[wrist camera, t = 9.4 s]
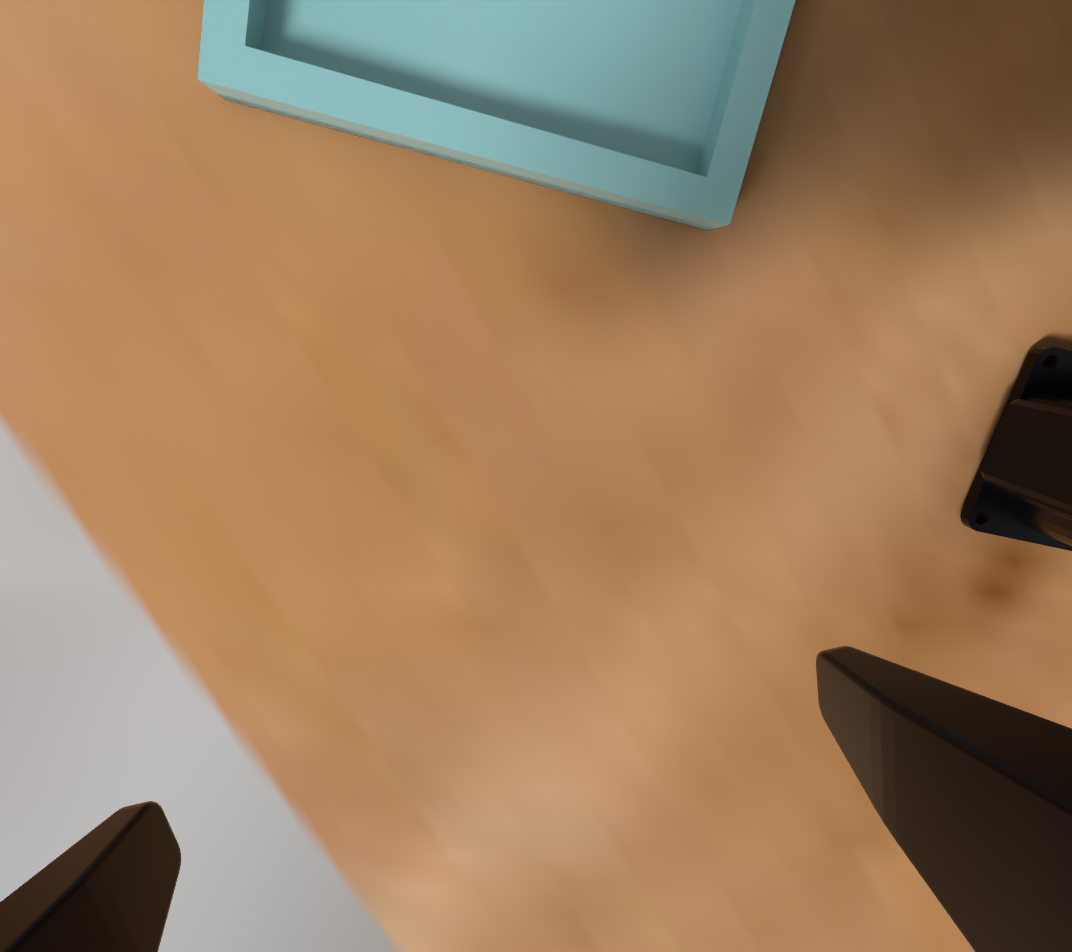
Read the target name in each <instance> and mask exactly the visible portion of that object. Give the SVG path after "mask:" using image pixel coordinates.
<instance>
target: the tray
mask: <svg viewBox="0 0 1072 952" xmlns="http://www.w3.org/2000/svg"><path fill="white" fill-rule="evenodd" d="M795 1H796V0H204V10H203V21H202V33H201V44H200V56H199V67H198V80H199V81H200V82H202V83H203V84H204V85H206V86H207V87H208V88H210V89H211V90H212V91H214V92H215V93H216V94H218V95H219V96H220V97H222V98H223V99H224V100H228V101H231V102H235V103H239V104H242V105H246V106H250V107H253V108H257V109H261V110H265V111H268V112H272V113H276V114H279V115H283V116H287V117H290V118H294V119H298V120H301V121H305V122H309V123H313V124H316V125H320V126H324V127H327V128H331V129H335V130H338V131H342V132H346V133H350V134H353V135H357V136H361V137H364V138H368V139H372V140H375V141H379V142H383V143H386V144H390V145H394V146H398V147H401V148H405V149H409V150H412V151H416V152H420V153H423V154H427V155H431V156H434V157H438V158H442V159H446V160H449V161H453V162H457V163H460V164H464V165H468V166H471V167H475V168H479V169H483V170H486V171H490V172H494V173H497V174H501V175H505V176H508V177H512V178H516V179H519V180H523V181H527V182H531V183H534V184H538V185H542V186H545V187H549V188H553V189H556V190H560V191H564V192H567V193H571V194H575V195H579V196H582V197H586V198H590V199H593V200H597V201H601V202H604V203H608V204H612V205H616V206H619V207H623V208H627V209H630V210H634V211H638V212H641V213H645V214H649V215H652V216H656V217H660V218H664V219H667V220H671V221H675V222H678V223H682V224H686V225H689V226H693V227H697V228H700V229H704V230H711V229H715V228H719V227H724V226H728V225H730V223H731V219H732V216H733V213H734V209H735V206H736V202H737V199H738V195H739V192H740V189H741V185H742V182H743V178H744V175H745V171H746V168H747V165H748V161H749V158H750V154H751V151H752V148H753V144H754V141H755V137H756V134H757V130H758V127H759V124H760V120H761V117H762V113H763V110H764V107H765V103H766V100H767V96H768V93H769V89H770V86H771V83H772V79H773V76H774V72H775V69H776V66H777V62H778V59H779V55H780V52H781V48H782V45H783V42H784V38H785V35H786V31H787V28H788V24H789V21H790V18H791V14H792V11H793V7H794V4H795Z"/></svg>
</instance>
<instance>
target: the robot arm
mask: <svg viewBox="0 0 1072 952" xmlns="http://www.w3.org/2000/svg"><path fill="white" fill-rule="evenodd" d="M1046 357H1047V362H1046V364H1045V366H1044V367H1043V360H1044V359H1045V358H1046ZM979 512H981V513H980V516H979V518H978V519H976V516H977V514H978V513H979ZM960 517H961V522H962V523H963V524H964V525H965V526H967V527H969V528H971V529H973V530H976V531H979V532H984V533H989V534H994V535H998V536H1003V537H1008V538H1013V539H1018V540H1022V541H1027V542H1032V543H1037V544H1042V545H1046V546H1051V547H1056V548H1061V549H1066V550H1070V551H1072V351H1068V350H1065V349H1061V348H1057V347H1048V346H1040V347H1037V348H1035V349H1034V350H1033V351H1031V352H1030V354H1029V355H1028V357H1027V359H1026V361H1025V364H1024V366H1023V368H1022V371H1021V373H1020V375H1019V378H1018V380H1017V382H1016V385H1015V387H1014V389H1013V392H1012V394H1011V397H1010V399H1009V401H1008V404H1007V406H1006V408H1005V411H1004V413H1003V415H1002V418H1001V420H1000V422H999V425H998V427H997V429H996V432H995V434H994V436H993V439H992V441H991V443H990V446H989V448H988V451H987V453H986V455H985V458H984V460H983V462H982V465H981V467H980V469H979V472H978V474H977V476H976V479H975V481H974V483H973V486H972V488H971V490H970V493H969V495H968V497H967V500H966V502H965V504H964V507H963V509H962V512H961V516H960ZM975 519H976V520H975ZM816 671H817V685H818V700H819V706H820V710H821V713H822V716H823V718H824V720H825V722H826V724H827V726H828V727H829V729H830V731H831V733H832V734H833V736H834V738H835V740H836V741H837V743H838V745H839V747H840V748H841V750H842V752H843V754H844V755H845V757H846V759H847V761H848V762H849V764H850V766H851V768H852V769H853V771H854V773H855V775H856V776H857V778H858V780H859V782H860V783H861V785H862V787H863V788H864V790H865V792H866V794H867V795H868V797H869V799H870V801H871V802H872V804H873V806H874V808H875V809H876V811H877V813H878V814H879V816H880V817H881V819H882V821H883V822H884V824H885V825H886V827H887V828H888V830H889V831H890V833H891V834H892V836H893V837H894V839H895V840H896V842H897V843H898V844H899V846H900V847H901V849H902V850H903V851H904V853H905V854H906V856H907V857H908V858H909V860H910V861H911V863H912V864H913V865H914V867H915V868H916V870H917V871H918V872H919V874H920V875H921V877H922V878H923V879H924V881H925V882H926V884H927V885H928V886H929V888H930V889H931V891H932V892H933V893H934V895H935V896H936V897H937V899H938V900H939V902H940V903H941V904H942V906H943V907H944V909H945V910H946V911H947V913H948V914H949V916H950V917H951V918H952V920H953V921H954V923H955V924H956V925H957V927H958V928H959V930H960V931H961V932H962V934H963V935H964V937H965V938H966V939H967V941H968V942H969V944H970V945H971V946H972V948H973V949H974V951H975V952H1072V729H1071V728H1068V727H1066V726H1063V725H1060V724H1058V723H1055V722H1052V721H1049V720H1047V719H1044V718H1041V717H1039V716H1036V715H1033V714H1031V713H1028V712H1025V711H1022V710H1020V709H1017V708H1014V707H1012V706H1009V705H1006V704H1004V703H1001V702H998V701H995V700H993V699H990V698H987V697H985V696H982V695H979V694H977V693H974V692H971V691H969V690H966V689H963V688H960V687H958V686H955V685H952V684H950V683H947V682H944V681H942V680H939V679H936V678H933V677H931V676H928V675H925V674H923V673H920V672H917V671H915V670H912V669H909V668H906V667H904V666H901V665H898V664H896V663H893V662H890V661H888V660H885V659H882V658H879V657H877V656H874V655H871V654H869V653H866V652H863V651H861V650H858V649H855V648H852V647H849V646H842V647H837V648H833V649H828V650H824V651H821V652H820V653H819V654H818V655H817V658H816ZM180 865H181V852H180V848H179V845H178V843H177V840H176V838H175V836H174V834H173V832H172V829H171V827H170V825H169V823H168V820H167V818H166V816H165V814H164V812H163V809H162V808H161V806H160V805H159V804H158V803H156V802H152V801H149V802H144V803H140V804H135V805H131V806H127V807H123V808H121V809H119V810H118V811H116V812H115V813H114V814H113V815H111V816H110V817H109V818H108V819H106V820H105V821H104V822H102V823H101V824H100V825H99V826H97V827H96V828H95V829H94V830H92V831H91V832H90V833H88V834H87V835H86V836H84V837H83V838H82V839H81V840H79V841H78V842H77V843H76V844H74V845H73V846H72V847H70V848H69V849H68V850H67V851H65V852H64V853H63V854H62V855H60V856H59V857H58V858H56V859H55V860H54V861H52V862H51V863H50V864H49V865H47V866H46V867H45V868H44V869H42V870H41V871H40V872H38V873H37V874H36V875H35V876H33V877H32V878H31V879H29V881H27V882H26V883H24V884H23V885H22V886H20V887H19V888H18V889H17V890H15V891H14V892H13V893H12V894H10V895H9V896H8V897H6V898H5V899H4V900H3V901H1V902H0V952H158V949H159V945H160V941H161V937H162V934H163V930H164V927H165V923H166V919H167V915H168V911H169V908H170V904H171V900H172V897H173V893H174V889H175V886H176V882H177V878H178V874H179V870H180Z"/></svg>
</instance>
